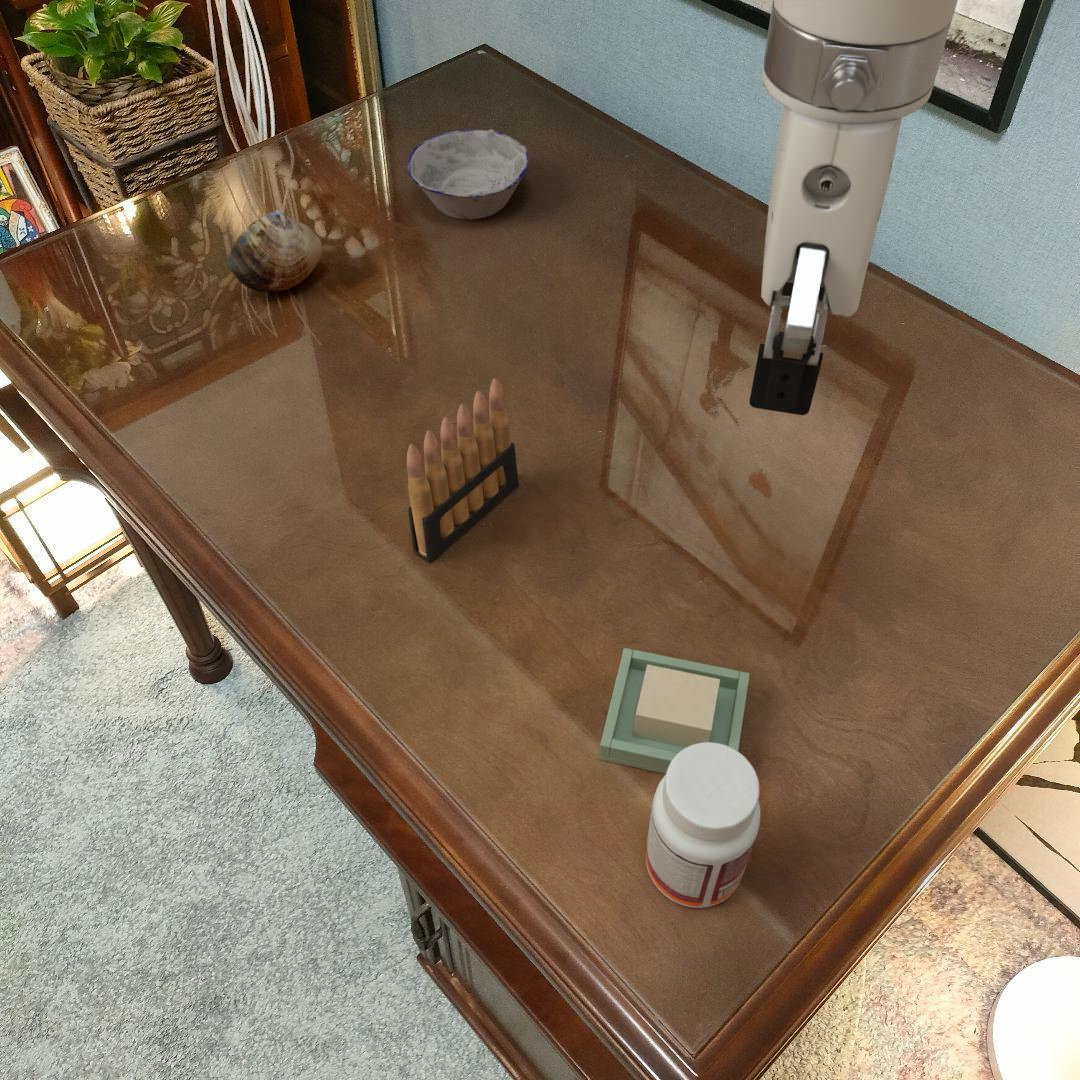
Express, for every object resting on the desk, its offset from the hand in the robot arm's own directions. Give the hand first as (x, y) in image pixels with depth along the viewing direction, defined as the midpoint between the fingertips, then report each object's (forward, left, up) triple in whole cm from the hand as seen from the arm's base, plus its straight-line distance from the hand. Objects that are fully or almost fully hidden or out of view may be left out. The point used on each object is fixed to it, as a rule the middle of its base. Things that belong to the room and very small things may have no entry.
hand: (787, 350), depth 58 cm
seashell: (+49, -28, -24) cm, 62 cm away
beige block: (+3, +12, -24) cm, 26 cm away
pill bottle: (0, +21, -24) cm, 32 cm away
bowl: (+35, -47, -24) cm, 64 cm away
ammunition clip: (+22, -3, -24) cm, 33 cm away
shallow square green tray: (+3, +12, -24) cm, 27 cm away
